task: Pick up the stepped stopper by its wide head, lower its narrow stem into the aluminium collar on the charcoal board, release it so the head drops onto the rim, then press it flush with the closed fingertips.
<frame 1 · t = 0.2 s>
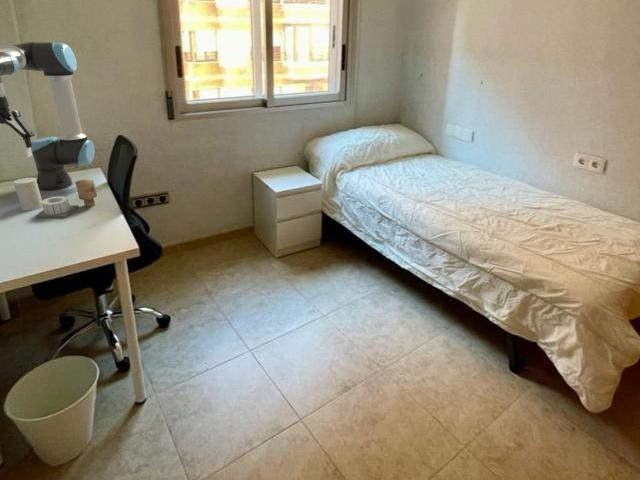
hand: (10, 156, 161), 28 cm above the table, tool pointing down, fingers open, 13 cm apart
cup: (32, 207, 191), on the table
stopper: (90, 205, 193), on the table
socket: (57, 212, 185), on the table
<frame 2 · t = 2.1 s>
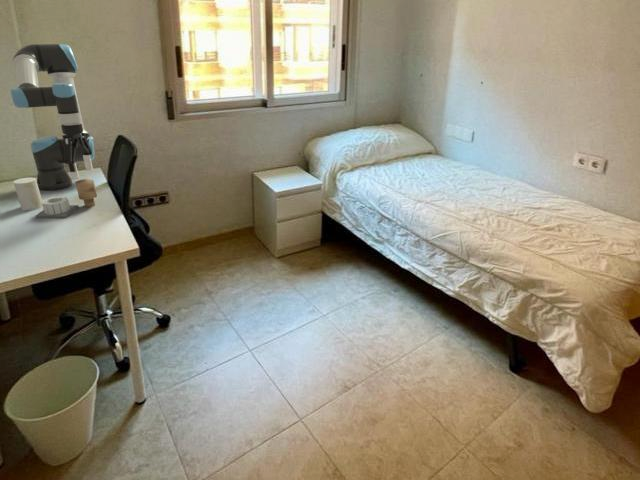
hand: (82, 174, 186), 14 cm above the table, tool pointing down, fingers open, 13 cm apart
nothing on the table moved.
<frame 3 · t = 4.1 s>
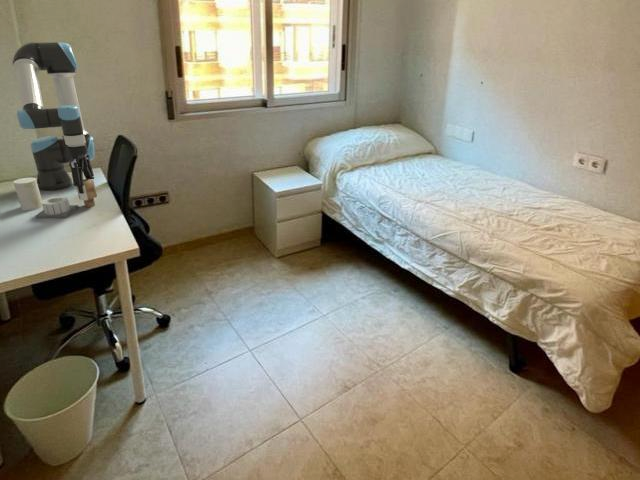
hand: (88, 196, 191), 4 cm above the table, tool pointing down, fingers closed on stopper, 7 cm apart
stopper: (90, 205, 193), on the table, touching gripper
everything else where it was.
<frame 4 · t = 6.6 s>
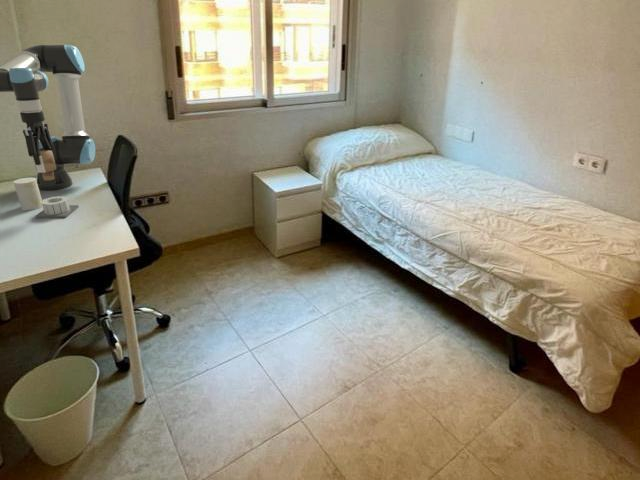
hand: (46, 169, 177), 19 cm above the table, tool pointing down, fingers closed on stopper, 7 cm apart
stopper: (49, 179, 179), point 15 cm above the table, touching gripper
everything else where it was.
when the fingers open (7 cm above the table, at t = 9.5 s): stopper drops 1 cm, resting on socket.
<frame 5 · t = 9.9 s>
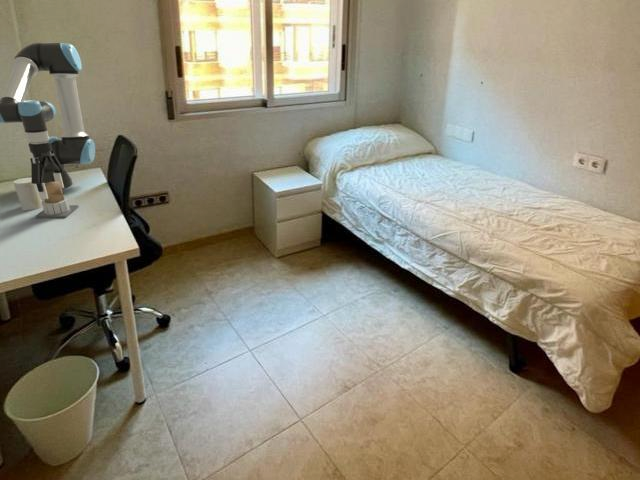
hand: (52, 193, 181), 9 cm above the table, tool pointing down, fingers open, 13 cm apart
stopper: (57, 209, 184), point 1 cm above the table, touching socket
everything else where it was.
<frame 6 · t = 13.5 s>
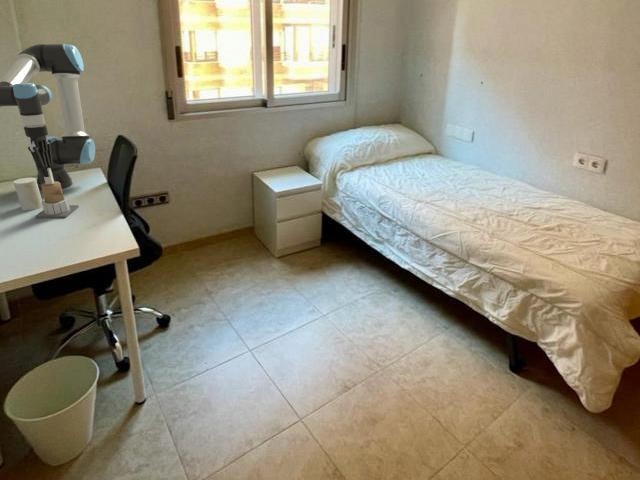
hand: (50, 183, 179), 13 cm above the table, tool pointing down, fingers closed
stopper: (57, 209, 184), point 1 cm above the table, touching gripper, socket
everything else where it was.
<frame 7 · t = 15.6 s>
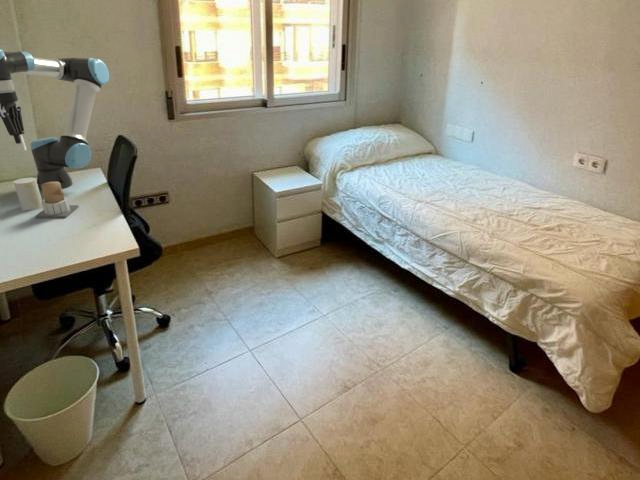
hand: (22, 150, 182), 24 cm above the table, tool pointing down, fingers closed
stopper: (57, 209, 184), point 1 cm above the table, touching socket
everything else where it was.
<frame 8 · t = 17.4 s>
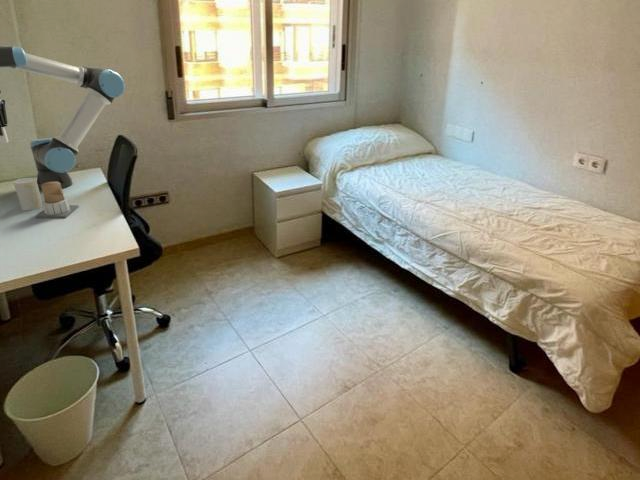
hand: (4, 142, 185), 26 cm above the table, tool pointing down, fingers closed
nothing on the table moved.
at the end: stopper 0.1 cm off-centre on the socket, point 1.5 cm above the socket's base; stopper tilted 0°; the gripper is holding nothing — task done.
